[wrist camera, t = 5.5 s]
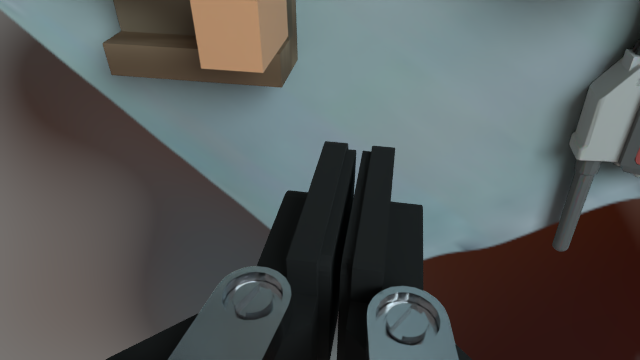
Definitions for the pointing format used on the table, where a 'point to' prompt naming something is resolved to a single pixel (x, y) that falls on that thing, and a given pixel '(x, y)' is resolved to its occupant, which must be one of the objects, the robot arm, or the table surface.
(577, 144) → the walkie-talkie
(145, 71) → the brown wooden tray
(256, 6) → the slider
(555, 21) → the table surface
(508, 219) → the table surface
